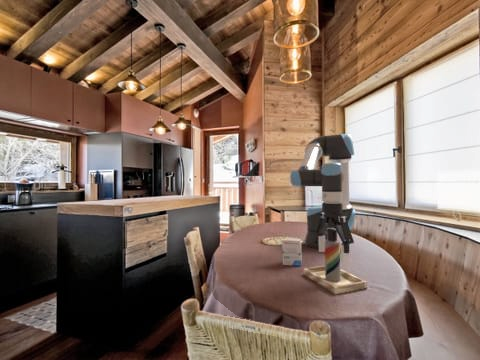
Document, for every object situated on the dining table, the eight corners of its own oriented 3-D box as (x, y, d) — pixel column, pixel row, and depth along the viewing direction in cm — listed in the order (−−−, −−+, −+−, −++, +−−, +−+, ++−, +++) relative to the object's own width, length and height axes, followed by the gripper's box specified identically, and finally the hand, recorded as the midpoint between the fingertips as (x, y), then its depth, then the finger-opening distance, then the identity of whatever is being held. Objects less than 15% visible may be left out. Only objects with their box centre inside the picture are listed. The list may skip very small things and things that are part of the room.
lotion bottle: (323, 276, 103) (322, 227, 103) (336, 275, 103) (335, 226, 103) (329, 282, 97) (328, 230, 97) (343, 281, 98) (342, 229, 98)
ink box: (302, 263, 122) (301, 238, 121) (301, 266, 117) (300, 241, 117) (284, 261, 124) (283, 237, 124) (282, 264, 120) (281, 239, 120)
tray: (303, 274, 108) (303, 268, 108) (331, 269, 112) (331, 264, 112) (335, 294, 89) (335, 287, 89) (367, 288, 93) (367, 281, 93)
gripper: (305, 200, 111) (306, 248, 111) (346, 206, 87) (347, 267, 87) (320, 199, 113) (321, 247, 113) (364, 204, 89) (365, 265, 90)
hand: (332, 256), depth 100 cm, fingers open, 13 cm apart
